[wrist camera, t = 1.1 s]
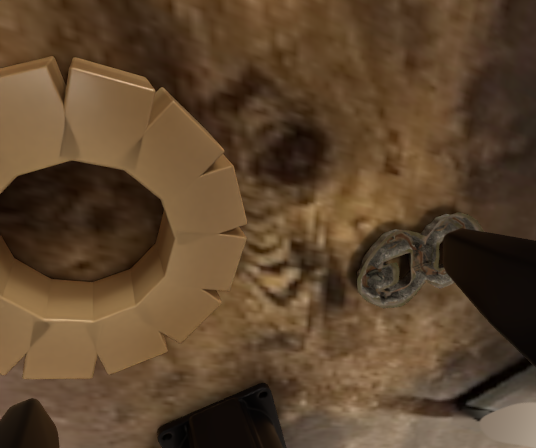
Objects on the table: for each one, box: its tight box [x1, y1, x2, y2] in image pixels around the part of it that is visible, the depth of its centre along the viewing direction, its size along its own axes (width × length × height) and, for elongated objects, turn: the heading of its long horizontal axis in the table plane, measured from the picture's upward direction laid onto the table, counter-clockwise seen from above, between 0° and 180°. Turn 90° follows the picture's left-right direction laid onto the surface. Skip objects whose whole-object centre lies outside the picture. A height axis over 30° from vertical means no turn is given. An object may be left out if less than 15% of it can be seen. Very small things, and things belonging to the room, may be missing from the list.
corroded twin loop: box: [357, 212, 484, 308], centre depth 24 cm, size 5×8×1 cm, turn 100°
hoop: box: [0, 56, 247, 379], centre depth 16 cm, size 12×12×3 cm
